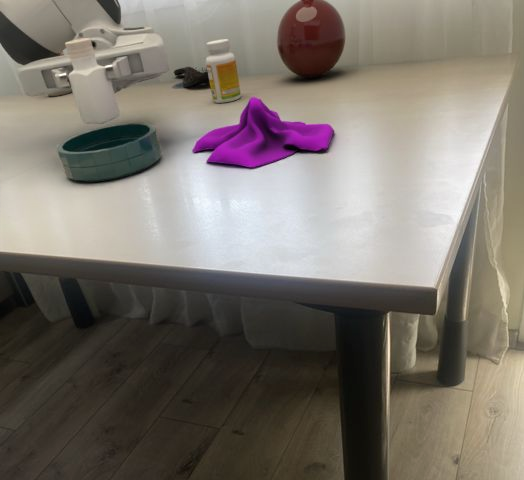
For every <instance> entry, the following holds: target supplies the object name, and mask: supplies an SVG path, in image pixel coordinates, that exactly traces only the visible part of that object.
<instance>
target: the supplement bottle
mask: <svg viewBox="0 0 524 480" xmlns="http://www.w3.org/2000/svg"><path fill="white" fill-rule="evenodd" d="M229 40H230V39H228V38H223V39H216V40H212V41H208V42H206V49H207V52H208V54H209V55H208V56H207V57H206V59H205V65H206V67H207V68H206V70H207V71H206V72H208V76H209V82H208V83H209V88H210V92H211V97H212V101H213V102H214V103H215V104H224V103H230V102H234V101H237V100H239V99H240V98H241V97H242V94H241V87H240V81H239V74H238V66H237V60H236V56H235V54H234V53H232V52H230V48H231V47H230V41H229Z"/></svg>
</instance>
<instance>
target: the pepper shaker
mask: <svg viewBox="0 0 524 480" xmlns="http://www.w3.org/2000/svg"><path fill="white" fill-rule="evenodd" d="M65 46H66V51H67V55H68V54H69V58H70V60H71V62H72V65H73V68H74V70H73V71H72V72H71V73H70V74H69V75H68V80H69V82H70V85H71V89H72V92H71V93H72V95H73V98H74V101H75V104H76V107H77V110H78V113H79V116H80V119H81V121H82V122H83V124H89V125H91V124H92V125H97V124H98V125H102V124H105V123H108V122H110V121H112V120H115V119H117V118H119V117H120V115H121V110H120V107H119V104H118V101H117V97H116V93H114V90H113V86H112V83H111V80H110V81H109V79H108V76H107V75H108V73H107V72H106V69H105V67H103V66H100V65H98V64H97V62H96V58H95V53H94V50H93V46H92V43H91V40H90V38H83V39H78V40H73V41H69V42H66V43H65Z"/></svg>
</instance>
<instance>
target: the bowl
mask: <svg viewBox="0 0 524 480" xmlns="http://www.w3.org/2000/svg"><path fill="white" fill-rule="evenodd" d="M55 149H56V153H57V155H58V157H59V160H60V163H61V166H62V168H63V171H64V174H65V176H66V178H68V179H70V180H74V181H80V182H87V183H88V182H89V183H91V182H92V183H93V182H104V181H110V180H117V179H120V178H124V177H128V176H131V175H135V174H136V173H140V172H142V171H143V170H145V169H147V168H149V167H151V166H152V165H153V164H154V163H156V162H157V161H158V160H159V159H160V158H161V157H162V153H163V152H162V147H161V143H160V140H159V135H158V131H157V127H156V126H155V125H153V124H152V123H147V122H126V123H119V124H118V123H117V124H113V125H112V124H111V125H106V126H102V127H98V128H94V129H91V130H88V131H84V132H81V133H78V134H76V135H72V136H70V137H69V138H67V139H65V140H63V141H62V142H60V143H58V145H57V146H56V148H55Z"/></svg>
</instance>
